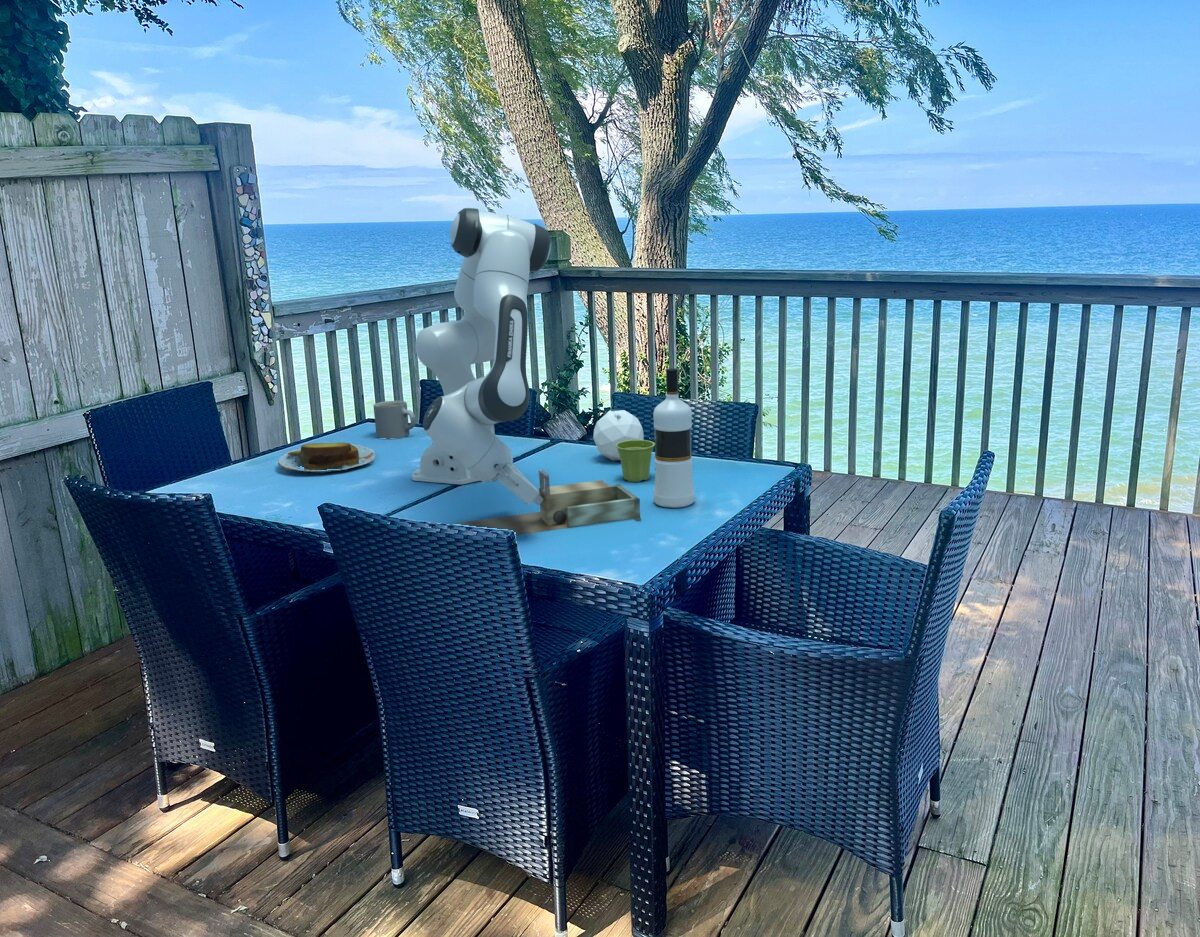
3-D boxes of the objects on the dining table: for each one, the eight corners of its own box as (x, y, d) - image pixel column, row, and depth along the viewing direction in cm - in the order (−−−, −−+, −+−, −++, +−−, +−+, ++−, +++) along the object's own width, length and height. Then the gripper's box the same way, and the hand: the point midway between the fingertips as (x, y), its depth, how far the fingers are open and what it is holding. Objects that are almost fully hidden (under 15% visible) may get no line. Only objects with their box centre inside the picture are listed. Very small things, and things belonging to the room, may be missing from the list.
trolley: (548, 526, 191) (546, 477, 188) (539, 516, 198) (537, 468, 195) (613, 517, 195) (611, 469, 192) (602, 508, 202) (600, 461, 199)
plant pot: (652, 484, 221) (651, 449, 218) (613, 483, 223) (612, 448, 220) (658, 474, 230) (657, 440, 227) (620, 473, 231) (619, 439, 229)
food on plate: (369, 449, 269) (367, 427, 267) (385, 469, 246) (382, 444, 244) (275, 461, 259) (272, 437, 257) (282, 482, 236) (279, 457, 235)
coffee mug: (369, 437, 283) (366, 405, 281) (394, 431, 291) (391, 399, 289) (399, 441, 276) (396, 408, 273) (424, 435, 284) (421, 403, 281)
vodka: (675, 511, 199) (673, 373, 192) (644, 503, 206) (641, 369, 198) (703, 501, 205) (702, 367, 198) (672, 494, 212) (670, 363, 204)
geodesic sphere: (655, 444, 236) (644, 396, 241) (603, 449, 233) (593, 400, 238) (643, 466, 249) (633, 420, 254) (593, 471, 246) (584, 425, 251)
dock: (462, 545, 183) (460, 523, 182) (451, 526, 195) (449, 505, 194) (640, 520, 194) (640, 499, 193) (619, 503, 206) (619, 483, 205)
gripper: (512, 459, 178) (563, 502, 184) (490, 438, 197) (537, 477, 202) (490, 484, 178) (542, 526, 183) (471, 461, 197) (518, 499, 202)
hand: (539, 500), depth 193 cm, fingers closed, pressing on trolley
